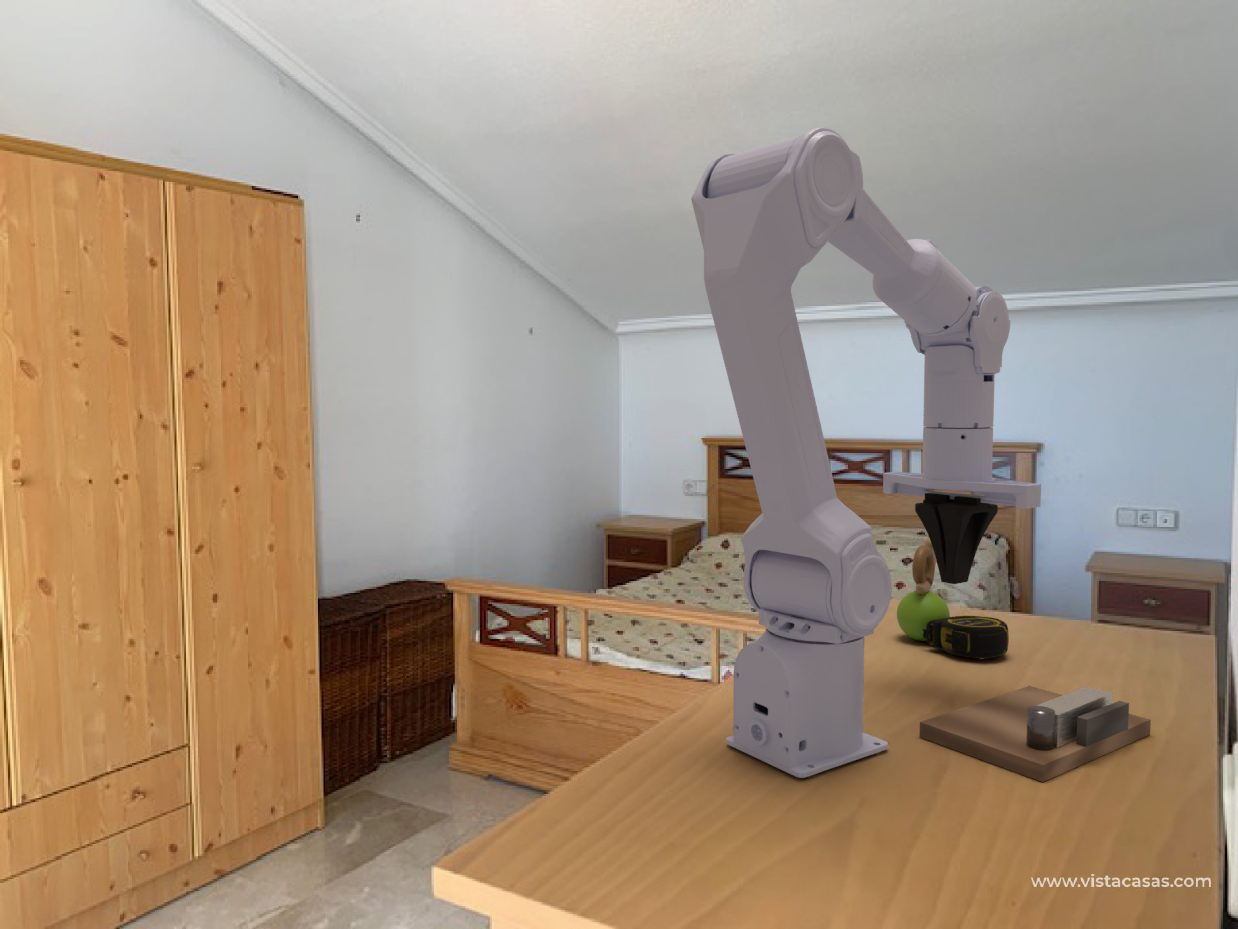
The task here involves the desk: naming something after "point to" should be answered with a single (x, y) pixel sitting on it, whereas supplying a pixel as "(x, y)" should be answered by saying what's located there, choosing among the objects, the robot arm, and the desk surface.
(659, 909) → the desk surface
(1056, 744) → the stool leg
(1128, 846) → the desk surface
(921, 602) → the snail figurine
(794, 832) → the desk surface
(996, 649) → the tape measure
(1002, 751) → the walnut board
